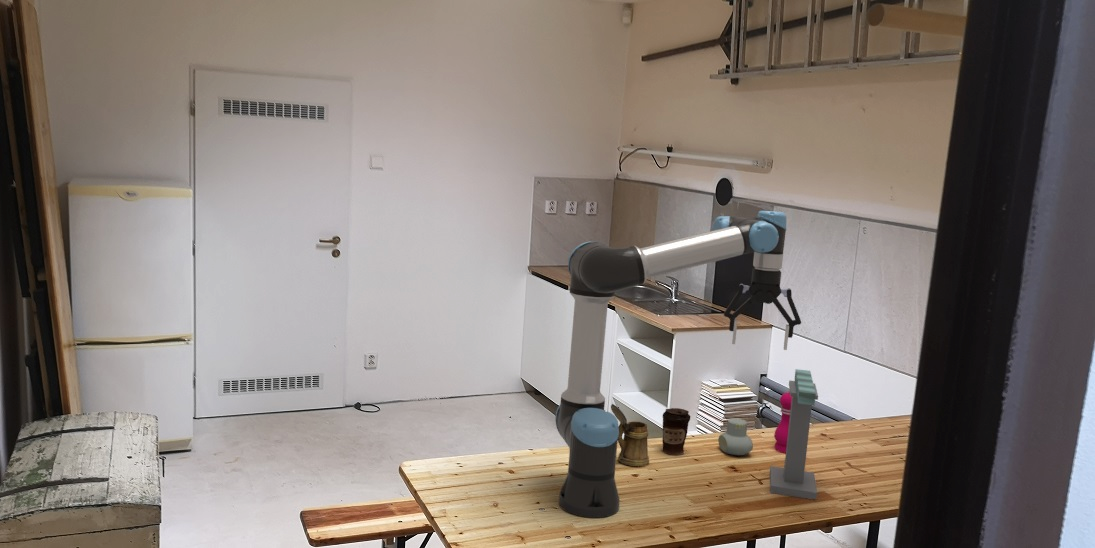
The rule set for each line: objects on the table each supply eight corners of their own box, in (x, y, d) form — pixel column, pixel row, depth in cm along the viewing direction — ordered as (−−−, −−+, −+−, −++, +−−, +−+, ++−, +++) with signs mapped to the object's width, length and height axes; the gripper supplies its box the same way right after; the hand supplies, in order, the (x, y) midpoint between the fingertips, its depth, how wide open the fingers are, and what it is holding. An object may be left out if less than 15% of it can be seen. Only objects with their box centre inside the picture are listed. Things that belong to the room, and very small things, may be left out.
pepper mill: (799, 449, 264) (806, 388, 261) (792, 455, 258) (799, 392, 255) (776, 444, 267) (783, 383, 265) (769, 450, 261) (776, 388, 259)
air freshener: (715, 446, 262) (718, 415, 260) (740, 446, 263) (743, 415, 262) (728, 458, 251) (731, 426, 250) (754, 458, 253) (757, 426, 251)
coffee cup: (686, 458, 248) (690, 416, 247) (658, 455, 250) (662, 413, 248) (687, 449, 257) (691, 408, 255) (660, 445, 258) (664, 405, 257)
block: (814, 405, 212) (815, 393, 211) (798, 403, 213) (799, 391, 212) (809, 381, 237) (810, 370, 236) (794, 379, 238) (795, 369, 237)
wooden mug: (599, 459, 243) (603, 399, 240) (637, 454, 249) (642, 396, 247) (615, 470, 235) (620, 408, 232) (655, 465, 241) (660, 404, 239)
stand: (816, 500, 223) (828, 398, 219) (770, 492, 226) (781, 392, 222) (813, 479, 239) (824, 383, 235) (769, 472, 241) (780, 378, 238)
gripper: (814, 271, 225) (806, 348, 228) (720, 263, 231) (713, 338, 234) (816, 274, 218) (807, 354, 220) (719, 265, 224) (711, 343, 226)
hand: (759, 346), depth 227 cm, fingers open, 13 cm apart
